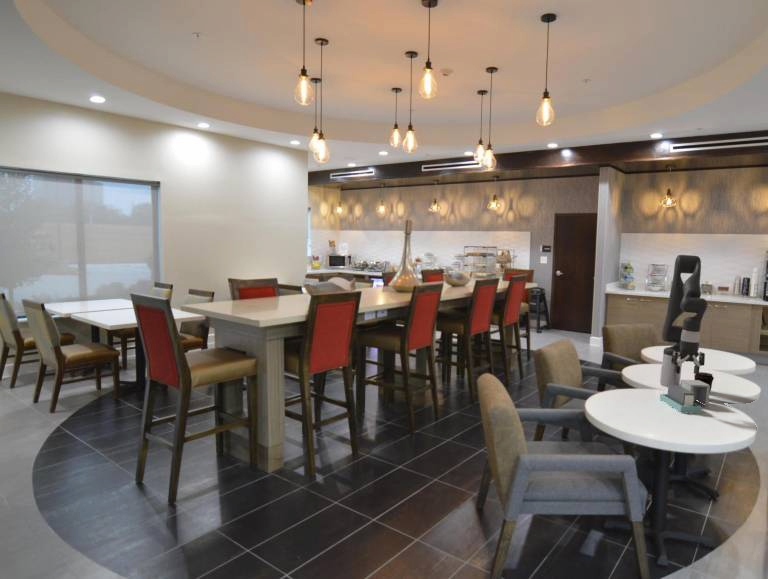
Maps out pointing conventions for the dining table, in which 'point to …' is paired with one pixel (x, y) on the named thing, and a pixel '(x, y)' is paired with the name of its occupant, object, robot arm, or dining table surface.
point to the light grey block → (697, 389)
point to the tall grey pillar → (681, 395)
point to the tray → (679, 407)
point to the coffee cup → (705, 378)
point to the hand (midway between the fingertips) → (686, 373)
